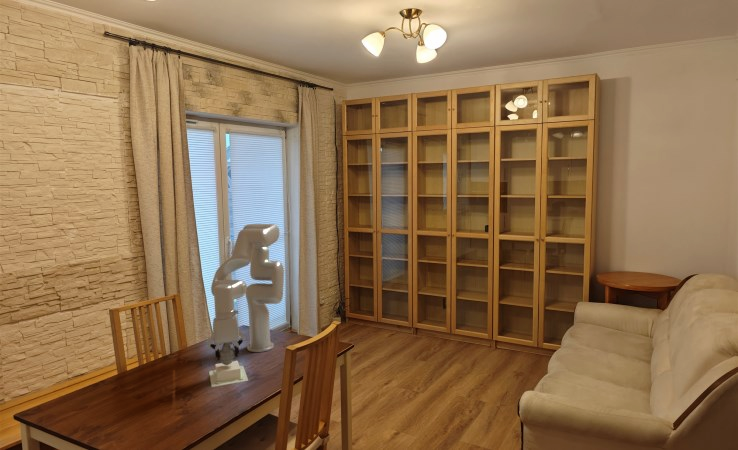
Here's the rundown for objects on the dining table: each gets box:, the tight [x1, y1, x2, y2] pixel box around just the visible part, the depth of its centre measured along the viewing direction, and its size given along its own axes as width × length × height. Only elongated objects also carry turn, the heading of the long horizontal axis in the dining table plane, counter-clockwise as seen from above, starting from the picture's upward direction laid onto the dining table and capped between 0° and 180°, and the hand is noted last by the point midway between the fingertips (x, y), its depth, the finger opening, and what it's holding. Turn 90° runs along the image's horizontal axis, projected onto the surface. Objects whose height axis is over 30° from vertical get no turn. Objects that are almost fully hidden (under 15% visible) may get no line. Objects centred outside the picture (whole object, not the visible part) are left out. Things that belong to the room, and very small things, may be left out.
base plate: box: [208, 365, 249, 388], centre depth 195 cm, size 16×14×2 cm
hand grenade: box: [219, 342, 236, 365], centre depth 194 cm, size 6×6×11 cm
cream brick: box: [214, 360, 241, 382], centre depth 195 cm, size 9×9×4 cm
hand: (227, 356), depth 195 cm, fingers closed on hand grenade, 6 cm apart
